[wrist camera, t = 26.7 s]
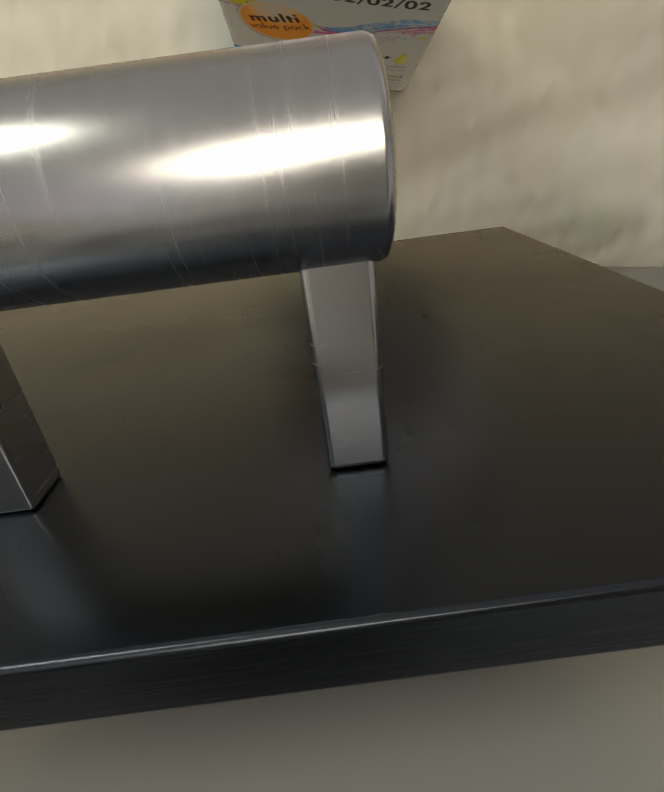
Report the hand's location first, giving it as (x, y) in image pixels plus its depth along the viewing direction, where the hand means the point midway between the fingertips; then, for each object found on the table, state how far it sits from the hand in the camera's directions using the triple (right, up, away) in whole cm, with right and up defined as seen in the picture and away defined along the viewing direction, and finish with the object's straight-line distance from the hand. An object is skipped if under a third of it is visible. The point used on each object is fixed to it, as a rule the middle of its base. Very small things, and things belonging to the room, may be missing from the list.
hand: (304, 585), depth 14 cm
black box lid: (-1, +6, -3) cm, 7 cm away
